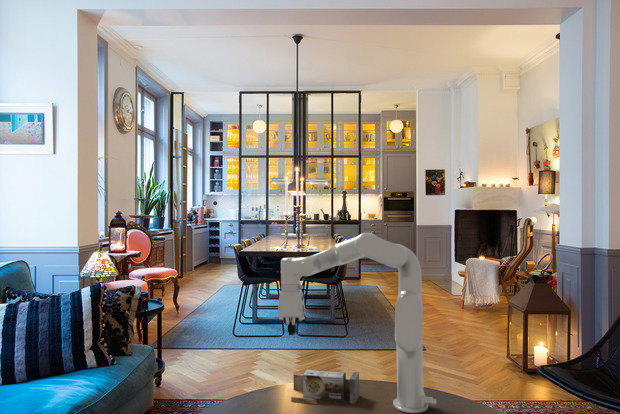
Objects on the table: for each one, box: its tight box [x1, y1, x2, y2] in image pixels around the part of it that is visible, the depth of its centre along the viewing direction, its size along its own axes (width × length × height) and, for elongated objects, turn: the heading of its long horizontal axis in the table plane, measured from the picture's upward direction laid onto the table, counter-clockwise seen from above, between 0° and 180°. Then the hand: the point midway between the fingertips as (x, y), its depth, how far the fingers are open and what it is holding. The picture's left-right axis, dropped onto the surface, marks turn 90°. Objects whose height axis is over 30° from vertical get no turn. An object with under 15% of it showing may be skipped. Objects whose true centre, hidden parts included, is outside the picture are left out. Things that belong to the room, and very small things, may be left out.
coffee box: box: [302, 369, 347, 402], centre depth 164 cm, size 9×6×16 cm
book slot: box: [290, 371, 360, 405], centre depth 163 cm, size 27×13×9 cm, turn 73°
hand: (292, 334), depth 167 cm, fingers closed
